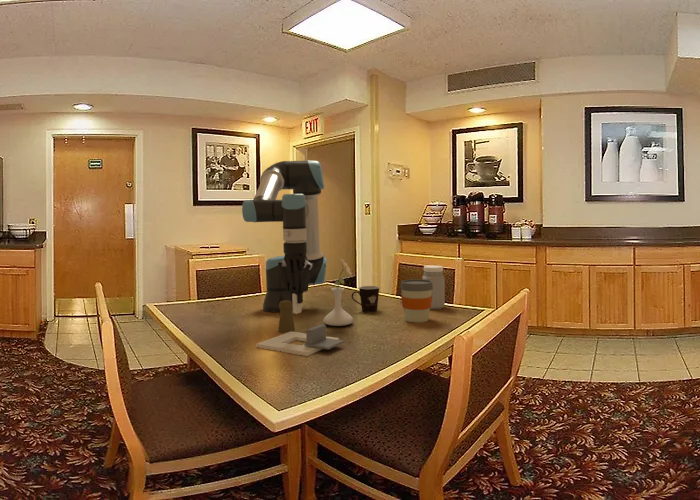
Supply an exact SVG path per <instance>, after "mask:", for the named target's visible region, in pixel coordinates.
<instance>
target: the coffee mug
mask: <svg viewBox="0 0 700 500" xmlns="http://www.w3.org/2000/svg"><path fill="white" fill-rule="evenodd" d="M358 289H359V291H357V290H356V291H353V292H352V294H351V299H352V300H353V301H354V302H355V303H357V304H358V305H360V306H361V311H362V312H363V313H375V312H378V306H379V294H380V286H377V285H364V286H360V287H358ZM355 293H357V294H358V295H359V296H360V297H359V298H360V302H359V301H358V300H356V299H355V298H354V294H355Z"/></svg>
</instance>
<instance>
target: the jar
mask: <svg viewBox="0 0 700 500" xmlns="http://www.w3.org/2000/svg"><path fill="white" fill-rule="evenodd" d="M423 271H424V272H423V275H422V278H421V280H430V281H432V285H433V289H432V294H431V295H432V303H431V308H430V310H441V309H444V307H445V305H446V304H445V303H446V302H445V301H446V299H445V298H446V297H445V292H446V289H445V287H446V286H445V285H446V284H445V283H446V280H445V276H444V272H443V271H444V266H443V265H437V264H436V265H432V264H430V265H424V266H423Z"/></svg>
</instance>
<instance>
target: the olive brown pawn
mask: <svg viewBox="0 0 700 500" xmlns="http://www.w3.org/2000/svg"><path fill="white" fill-rule="evenodd" d="M292 308H293V303H291V301H289V300H284V301H281V302H280V303H279V309H280V312H279V322H278V323H279V324H278V333H281V334H282V333H283V334H285V333H288V332H291V331H292V332H296V328H295V321H294V313H293V310H292Z"/></svg>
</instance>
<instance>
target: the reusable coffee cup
mask: <svg viewBox="0 0 700 500" xmlns="http://www.w3.org/2000/svg"><path fill="white" fill-rule="evenodd" d="M432 289H433V285H432V281H430V280H422V278H419V279H414V278H413V279H412V278H411V279H404V280H401V282H400V290H401V295H400V299H401V306H402V308H403V312H404V313H403V314H404V319H405V320H404V321H406V322H410V323H425V322H428V321H429V318H430V310H431V309H430V308H431V303H432V295H431V294H432Z"/></svg>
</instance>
